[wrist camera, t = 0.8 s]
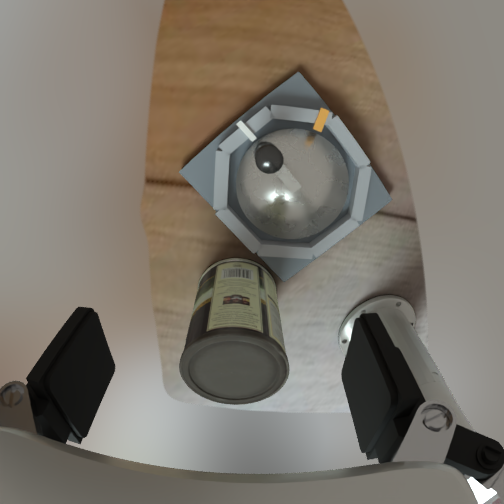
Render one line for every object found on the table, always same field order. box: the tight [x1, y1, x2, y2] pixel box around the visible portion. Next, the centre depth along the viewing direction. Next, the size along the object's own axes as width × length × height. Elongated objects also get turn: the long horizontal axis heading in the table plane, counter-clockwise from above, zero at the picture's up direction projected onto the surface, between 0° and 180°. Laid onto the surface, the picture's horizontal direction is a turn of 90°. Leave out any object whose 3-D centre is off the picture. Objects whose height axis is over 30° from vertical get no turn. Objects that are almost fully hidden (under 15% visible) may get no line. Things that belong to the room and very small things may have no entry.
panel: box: [179, 72, 392, 282], centre depth 32 cm, size 18×17×3 cm
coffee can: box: [179, 258, 289, 405], centre depth 33 cm, size 10×10×14 cm
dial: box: [236, 128, 349, 239], centre depth 29 cm, size 12×12×6 cm
